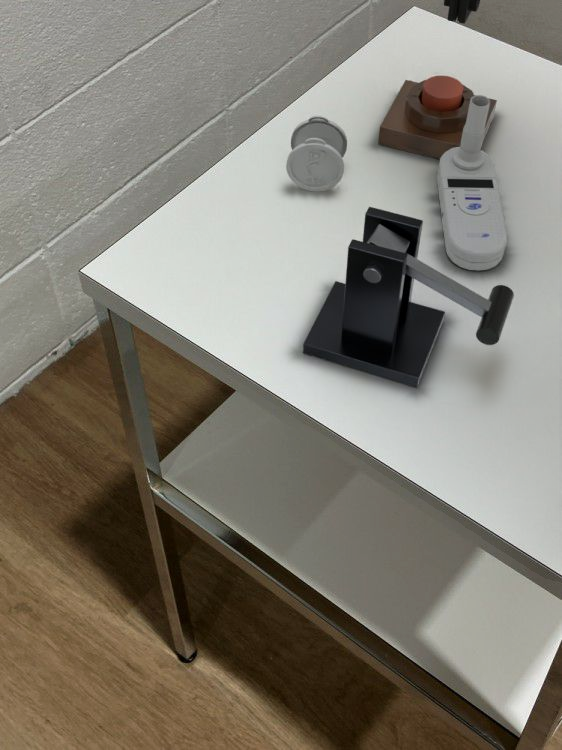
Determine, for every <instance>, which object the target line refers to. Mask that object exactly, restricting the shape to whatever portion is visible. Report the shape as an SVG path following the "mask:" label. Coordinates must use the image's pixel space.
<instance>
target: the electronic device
mask: <svg viewBox="0 0 562 750" xmlns="http://www.w3.org/2000/svg"><path fill="white" fill-rule="evenodd" d="M475 95H476V94H475ZM488 98H489V97H487V96H485V95H481V94H477V95H476V96H473V97H472V98H471V100H470V105H469V110H468V115H467V120H466V125H465V126H464V128H463V133H462V138H461V145H460V147H455V148H452V149H450V150H448V151H446V152H445V153H444V154H443V155H442V157H441V158H440V159H439V164H438V168H437V169H438V170H437V175H436V181H437V189H438V190H437V191H438V198H439V207H440V214H441V222H442V230H443V235H444V236H443V237H444V247H445V252H446V254H447V256H448V258H449V259H450V260H451V262H452V263H454V264H455V265H457V266H458V267H460V268H462V269H464V270H465V269H466V270H469V271H486V270H490V269H493V268H495V267H497V266H498V264H500V262H501V261H502V260H503V257H504V254H505V251H506V246H507V243H508V234H507V229H506V223H505V217H504V212H503V207H502V202H501V201H502V200H501V195H500V190H499V184H498V178H497V173H496V168H495V164H494V162H493V159H492V157H491V156H490V155H489V154H487V152H485V151H483V150H482V147H483V143H484V141H483V139H484V140H485V138H484V134H485V124H486V119H487V114H488V110H489V105H490V100H489V99H488Z"/></svg>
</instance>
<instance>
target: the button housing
mask: <svg viewBox="0 0 562 750" xmlns="http://www.w3.org/2000/svg"><path fill="white" fill-rule="evenodd" d="M426 80H427V79H423V80H422V81H420V82H418V81H413V80H408V79H405V80H404V82H403V84H402V86H401V87H400V89H399V91H398V93H397V95H395V98H394V100H393V102H392V104H391V105H390V107H389V109H388V111H387V113H385V114H386V115H385V116H384V118H383V120H382V121H381V123H380V125H379V129H378V140H377V141H378V142H377V144H378V145H379V146H382V147H387V148H391V149H397V150H400V151H404V152H409V153H413V154H417V155H421V156H424V157H429V158H433V159H438V160H440V158H441V157H442V155H443V154H444V153H445V152H446V151H448V150H450V149H452V148H455V147H460V145H461V138H462V133H463V128H464V126H465V125H466V120H467V115H468V110H469V105H470V100H471V98H472V97H473V96H476V94H474V92H473V90H472V89H471V88H469V87H467V86H466V85H464V84H463V83H461V84H462V85H463V93H462V99H461V104H460V107H459V108H458V109H456V110H454V111H445V112H439V111H435V110H430V109H428V108H427V107H425V106H424V105H423V104H422V101H421V99H422V92H423V84H424V82H425V81H426ZM487 98H488V99H489V100H490V105H489V110H488V114H487V119H486V124H485V134H484V139H483V142H484V140H485V139H486V136H487V134H488V131H489V129H490V127H491V124H492V123H493V119H494V116H495V113H496V108H497V102H498V100H497V99H494V98H491V97H490V98H489V97H487Z"/></svg>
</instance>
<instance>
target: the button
mask: <svg viewBox="0 0 562 750" xmlns="http://www.w3.org/2000/svg"><path fill="white" fill-rule="evenodd" d="M425 80H426V81H425V82H424V84H423V92H422V99H421V101H422V104H423V105H424V106H425V107H427V108H428V109H430V110H435V111H439V112H445V111H454V110H456V109H458V108H459V107H460V104H461V99H462V93H463V85H464V84H463V83H462V82H461V81H460V80H458V79H457V78H455V77H452V76H449V75H434V76H430V77H429V78H427V79H425ZM462 84H463V85H462Z"/></svg>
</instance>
